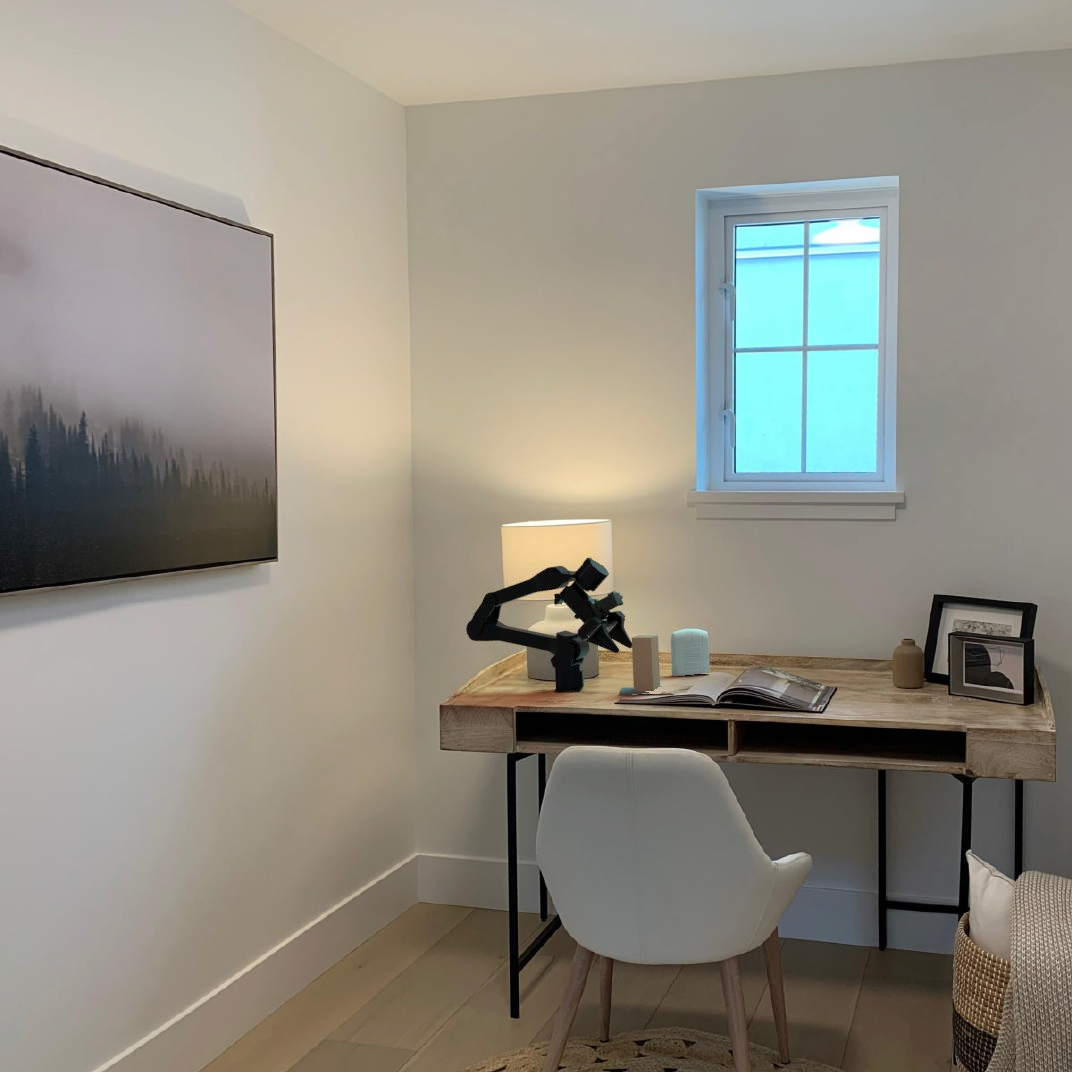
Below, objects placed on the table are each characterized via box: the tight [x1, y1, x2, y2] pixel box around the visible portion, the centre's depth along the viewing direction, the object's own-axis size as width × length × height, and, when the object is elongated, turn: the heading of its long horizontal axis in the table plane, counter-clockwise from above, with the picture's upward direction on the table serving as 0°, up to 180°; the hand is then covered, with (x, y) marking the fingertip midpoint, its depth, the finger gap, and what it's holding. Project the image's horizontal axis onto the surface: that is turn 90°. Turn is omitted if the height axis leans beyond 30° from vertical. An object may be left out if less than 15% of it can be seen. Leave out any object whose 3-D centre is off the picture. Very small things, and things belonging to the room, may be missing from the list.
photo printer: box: [670, 628, 710, 677], centre depth 317 cm, size 10×4×12 cm, turn 98°
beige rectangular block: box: [631, 634, 661, 691], centre depth 291 cm, size 5×5×13 cm
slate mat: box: [618, 686, 649, 697], centre depth 291 cm, size 13×9×1 cm
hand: (625, 649), depth 293 cm, fingers open, 9 cm apart
